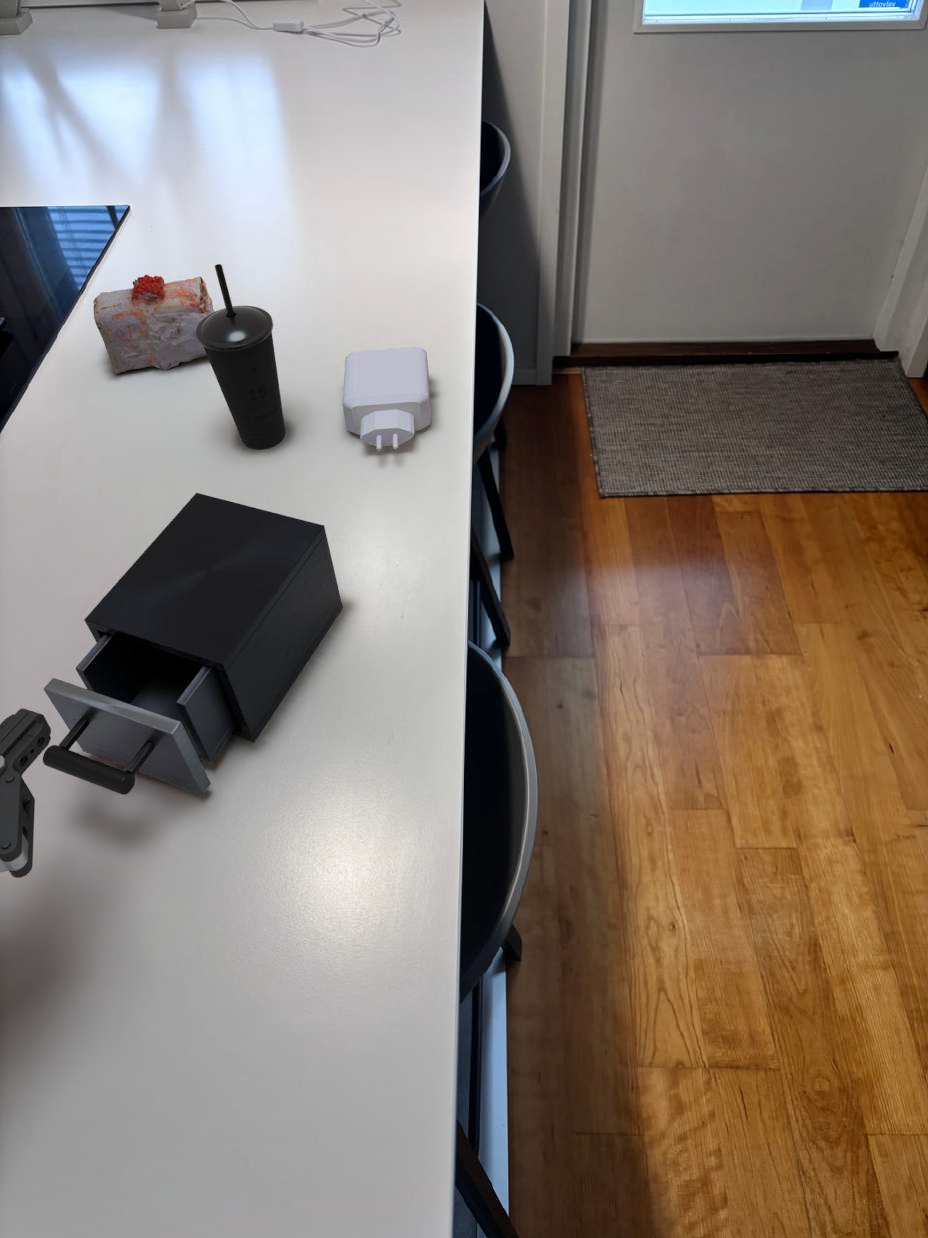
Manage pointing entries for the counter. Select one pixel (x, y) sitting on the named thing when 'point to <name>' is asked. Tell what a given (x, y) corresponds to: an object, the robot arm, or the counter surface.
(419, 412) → the charger
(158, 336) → the food item
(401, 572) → the counter surface
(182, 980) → the counter surface
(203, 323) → the drinking cup
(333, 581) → the cabinet
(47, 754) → the drawer
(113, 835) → the counter surface
